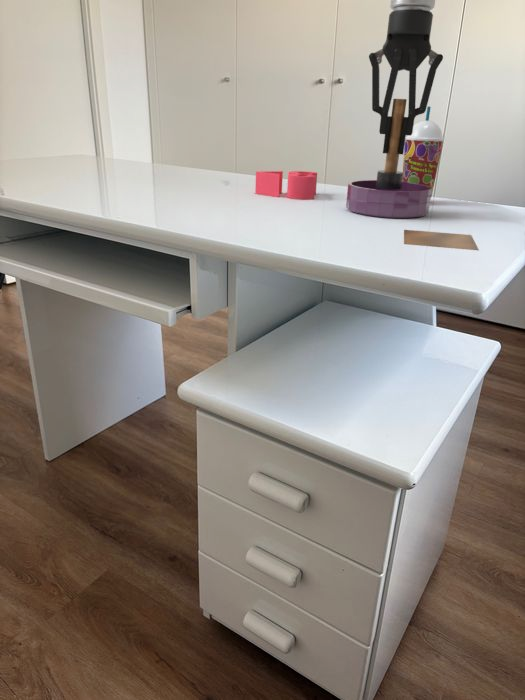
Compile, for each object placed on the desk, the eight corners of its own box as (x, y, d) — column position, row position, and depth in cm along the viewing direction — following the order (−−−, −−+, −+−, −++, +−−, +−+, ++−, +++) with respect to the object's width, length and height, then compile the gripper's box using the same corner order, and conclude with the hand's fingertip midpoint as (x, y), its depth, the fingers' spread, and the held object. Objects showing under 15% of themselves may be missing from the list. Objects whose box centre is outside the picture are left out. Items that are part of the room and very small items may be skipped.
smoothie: (402, 204, 119) (415, 106, 111) (392, 198, 127) (404, 105, 118) (439, 205, 120) (455, 107, 111) (427, 199, 127) (441, 107, 119)
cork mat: (470, 237, 90) (471, 234, 90) (478, 253, 80) (479, 250, 80) (403, 232, 92) (404, 229, 92) (403, 247, 83) (403, 243, 82)
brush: (401, 186, 108) (413, 99, 101) (401, 190, 104) (414, 99, 97) (376, 185, 109) (386, 98, 102) (375, 188, 105) (386, 98, 98)
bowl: (426, 209, 114) (430, 183, 112) (429, 224, 100) (433, 193, 97) (349, 204, 117) (352, 178, 115) (342, 217, 103) (344, 188, 101)
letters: (251, 196, 123) (252, 173, 121) (259, 190, 132) (259, 169, 130) (313, 200, 121) (314, 176, 119) (316, 193, 130) (317, 172, 128)
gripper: (365, 7, 92) (351, 152, 102) (459, 7, 89) (435, 157, 99) (368, 14, 99) (354, 149, 109) (455, 14, 96) (433, 154, 106)
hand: (393, 153), depth 104 cm, fingers closed on brush, 2 cm apart
